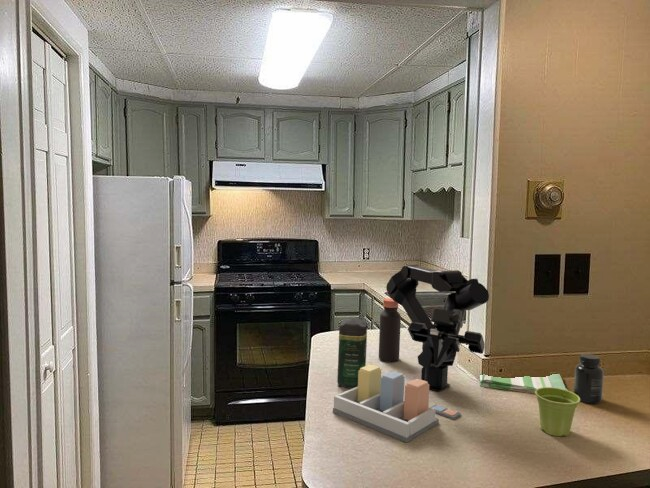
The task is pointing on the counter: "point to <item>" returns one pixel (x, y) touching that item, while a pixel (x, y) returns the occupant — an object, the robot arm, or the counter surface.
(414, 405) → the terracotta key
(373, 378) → the yellow block
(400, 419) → the grey divided tray
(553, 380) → the dish towel
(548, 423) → the plant pot
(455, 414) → the tile
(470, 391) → the counter surface
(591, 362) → the supplement bottle
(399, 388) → the pale blue block
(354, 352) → the coffee jar
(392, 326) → the vinegar
